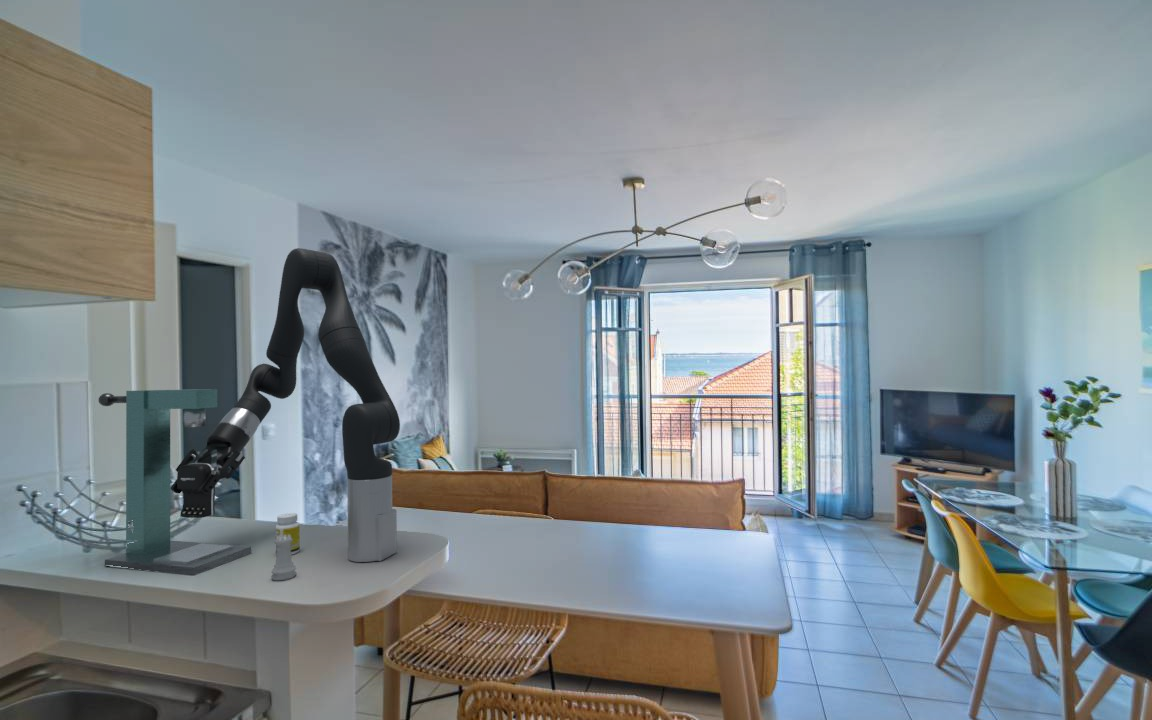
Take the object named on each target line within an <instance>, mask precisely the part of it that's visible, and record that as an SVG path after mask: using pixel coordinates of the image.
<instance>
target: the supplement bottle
mask: <svg viewBox="0 0 1152 720" xmlns="http://www.w3.org/2000/svg"><path fill="white" fill-rule="evenodd" d="M280 535H282V537H284V535H286V537H288V535H291V538H292V539H293V541H292V542H291V544H290V546H291V547H292V548H291V556H292V555H295V554H298V553H299V552H300V547H301V546H300V522H298V514H297V513H296V512H291V513H288V512H287V513H283V514H279V515H278V516H277V523H276V526H275V538H276V537H278V536H280ZM276 549H277V545H276V544H275V555H276V556H277V551H276Z"/></svg>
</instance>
